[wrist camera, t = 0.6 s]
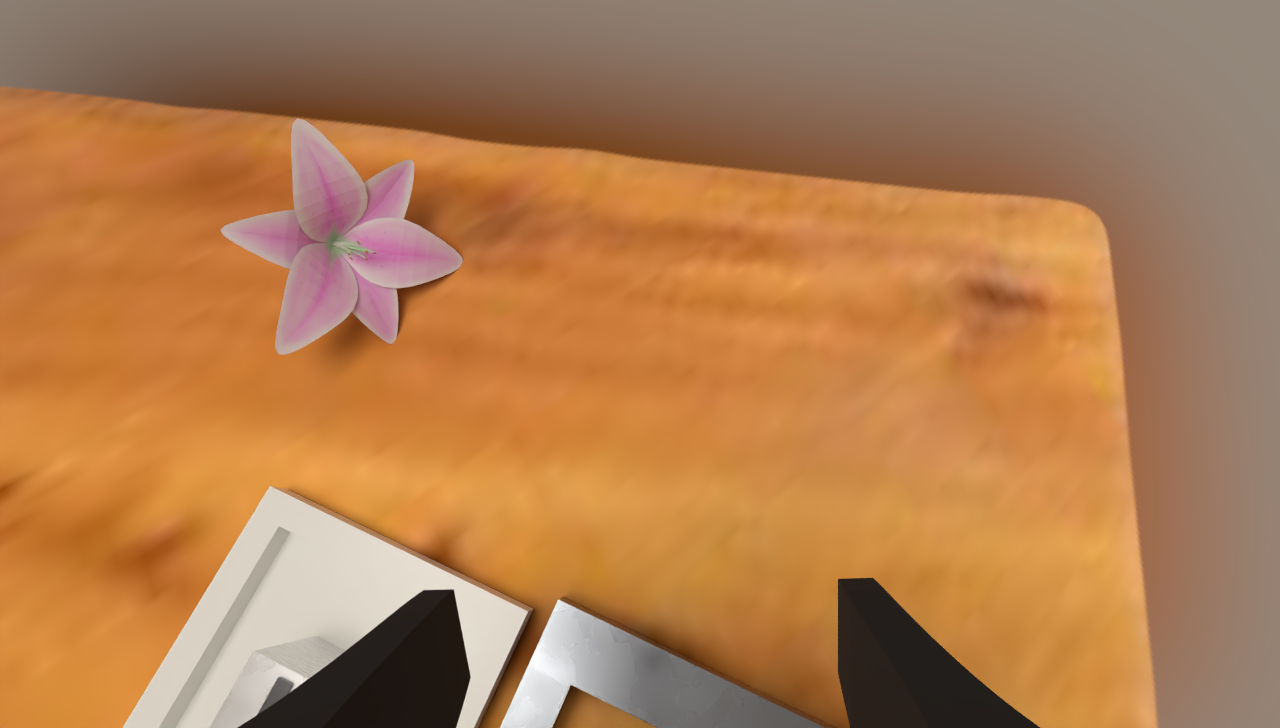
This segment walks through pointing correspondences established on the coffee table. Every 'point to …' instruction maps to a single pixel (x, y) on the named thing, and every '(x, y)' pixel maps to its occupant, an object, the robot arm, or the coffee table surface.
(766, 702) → the metal frame
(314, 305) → the lily
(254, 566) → the white square tray
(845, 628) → the robot arm
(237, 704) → the block
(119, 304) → the coffee table surface
